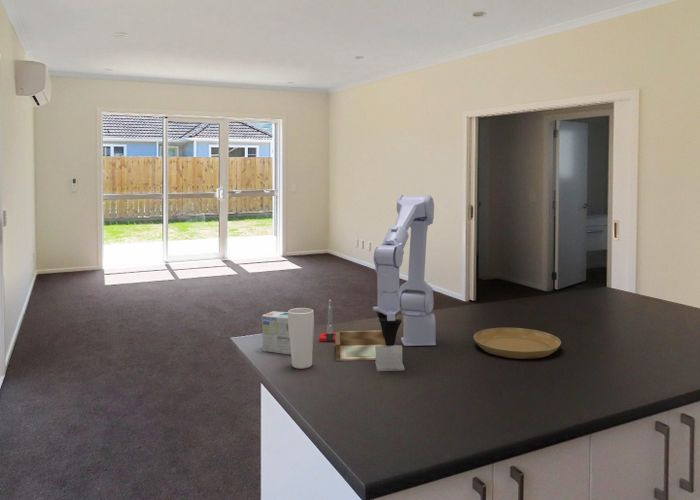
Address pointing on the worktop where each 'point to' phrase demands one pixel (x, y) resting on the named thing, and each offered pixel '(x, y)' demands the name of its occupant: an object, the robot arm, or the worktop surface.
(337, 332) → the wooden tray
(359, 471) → the worktop surface
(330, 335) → the tow hook
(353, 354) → the board
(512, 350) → the plant saucer
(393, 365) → the bracket
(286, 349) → the light bulb box
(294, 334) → the drinking glass
